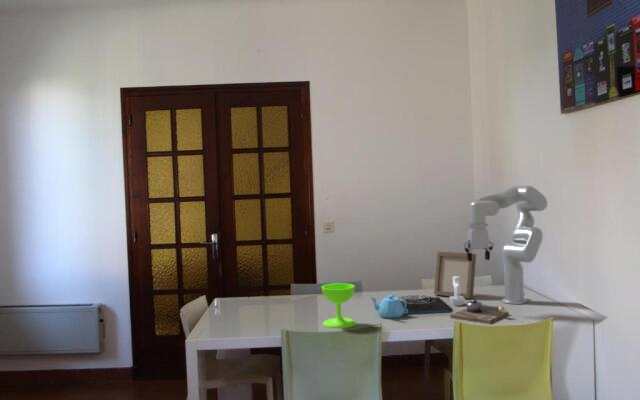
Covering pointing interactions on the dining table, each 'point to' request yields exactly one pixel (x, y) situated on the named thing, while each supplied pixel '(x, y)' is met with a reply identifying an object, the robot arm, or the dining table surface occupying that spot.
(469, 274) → the photo frame
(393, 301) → the teapot
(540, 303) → the dining table surface
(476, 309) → the grey metal elongated piece
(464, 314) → the stand board
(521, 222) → the robot arm
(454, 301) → the figurine
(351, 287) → the wineglass
